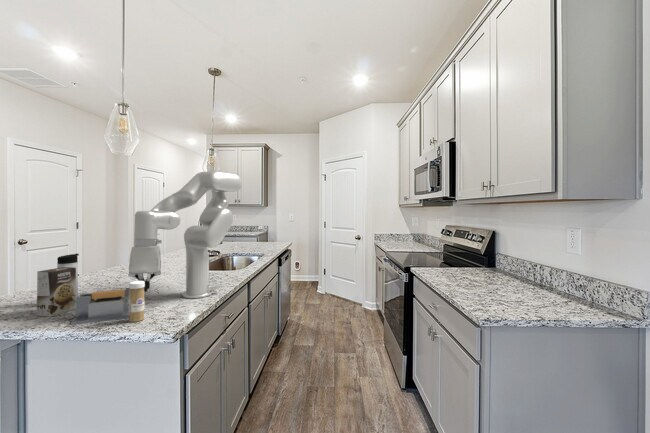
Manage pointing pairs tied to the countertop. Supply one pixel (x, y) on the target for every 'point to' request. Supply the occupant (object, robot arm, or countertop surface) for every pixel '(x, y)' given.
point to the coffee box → (56, 291)
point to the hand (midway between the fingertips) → (144, 291)
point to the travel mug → (69, 265)
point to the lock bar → (111, 293)
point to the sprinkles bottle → (136, 301)
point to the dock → (100, 309)
